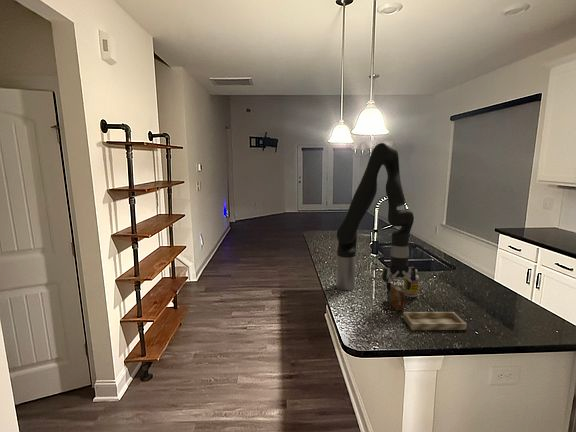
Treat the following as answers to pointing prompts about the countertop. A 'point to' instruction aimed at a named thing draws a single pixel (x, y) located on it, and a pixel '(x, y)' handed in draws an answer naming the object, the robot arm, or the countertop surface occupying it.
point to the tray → (434, 321)
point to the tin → (396, 298)
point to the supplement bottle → (414, 286)
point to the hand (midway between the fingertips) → (398, 289)
